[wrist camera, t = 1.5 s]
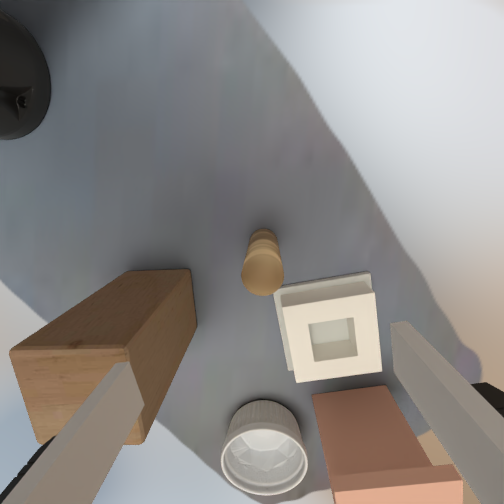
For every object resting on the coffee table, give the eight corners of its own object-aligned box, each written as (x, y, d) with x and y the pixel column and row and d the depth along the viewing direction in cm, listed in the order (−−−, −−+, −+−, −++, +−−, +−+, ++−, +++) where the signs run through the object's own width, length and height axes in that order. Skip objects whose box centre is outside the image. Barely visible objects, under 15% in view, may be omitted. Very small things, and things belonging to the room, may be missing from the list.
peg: (247, 231, 39) (237, 259, 25) (274, 226, 39) (279, 252, 25) (252, 258, 40) (246, 298, 26) (279, 253, 39) (287, 292, 26)
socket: (272, 287, 41) (273, 301, 36) (367, 271, 40) (381, 284, 35) (287, 366, 44) (290, 389, 40) (376, 354, 43) (390, 376, 38)
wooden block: (126, 270, 41) (3, 350, 22) (191, 267, 41) (124, 347, 21) (136, 329, 44) (35, 447, 25) (198, 327, 43) (143, 447, 24)
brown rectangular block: (307, 369, 44) (334, 492, 27) (383, 358, 43) (462, 480, 26) (313, 404, 46) (342, 541, 29) (386, 395, 45) (463, 532, 27)
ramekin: (315, 438, 48) (323, 480, 41) (249, 463, 50) (247, 507, 43) (280, 381, 45) (282, 416, 39) (212, 410, 47) (203, 448, 41)
